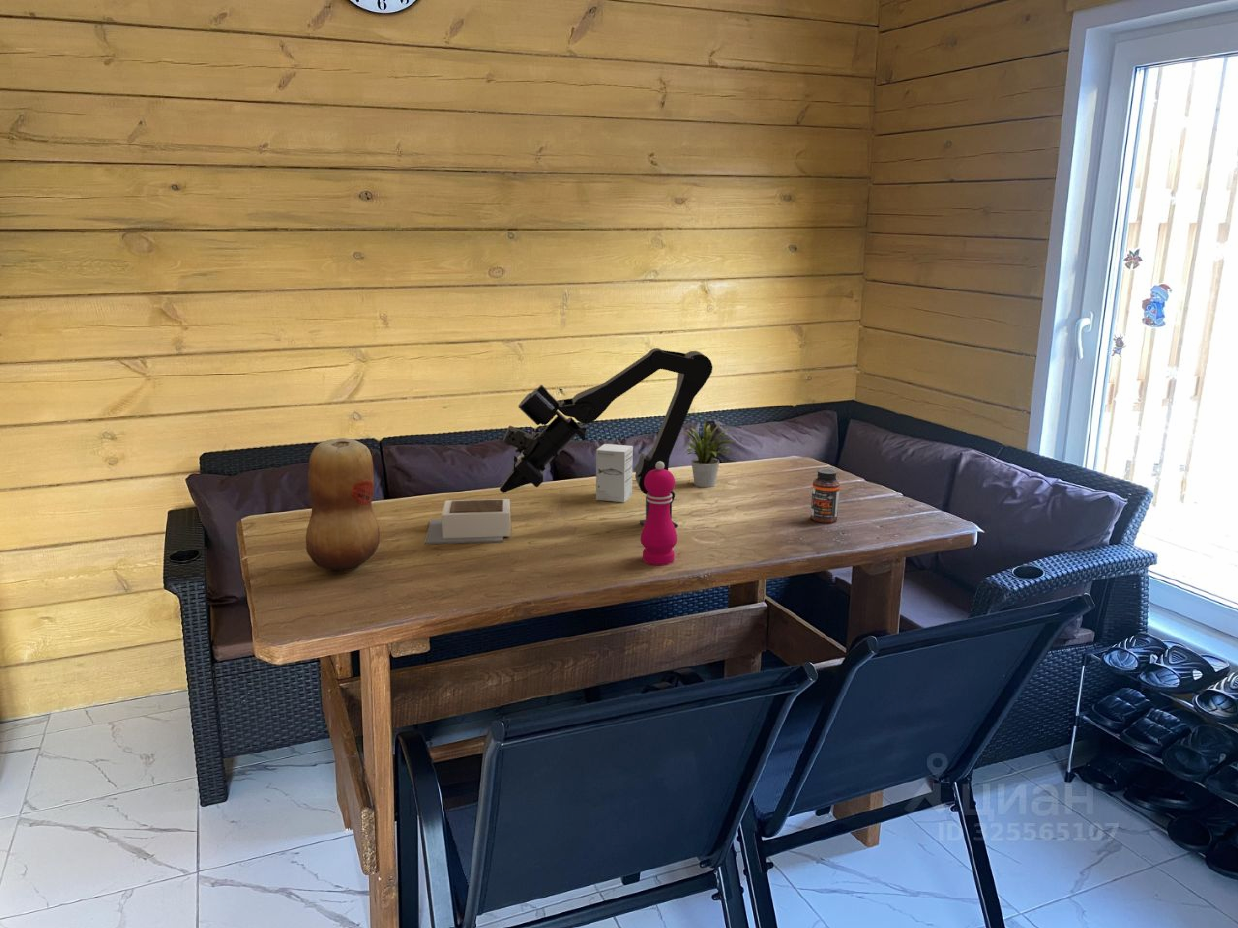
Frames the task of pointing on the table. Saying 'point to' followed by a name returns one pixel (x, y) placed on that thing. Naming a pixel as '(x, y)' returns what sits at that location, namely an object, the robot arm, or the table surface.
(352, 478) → the butternut squash
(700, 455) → the house plant
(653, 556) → the pepper mill
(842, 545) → the table surface
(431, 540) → the mat
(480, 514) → the picture frame
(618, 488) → the supplement box
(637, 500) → the table surface
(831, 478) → the supplement bottle
